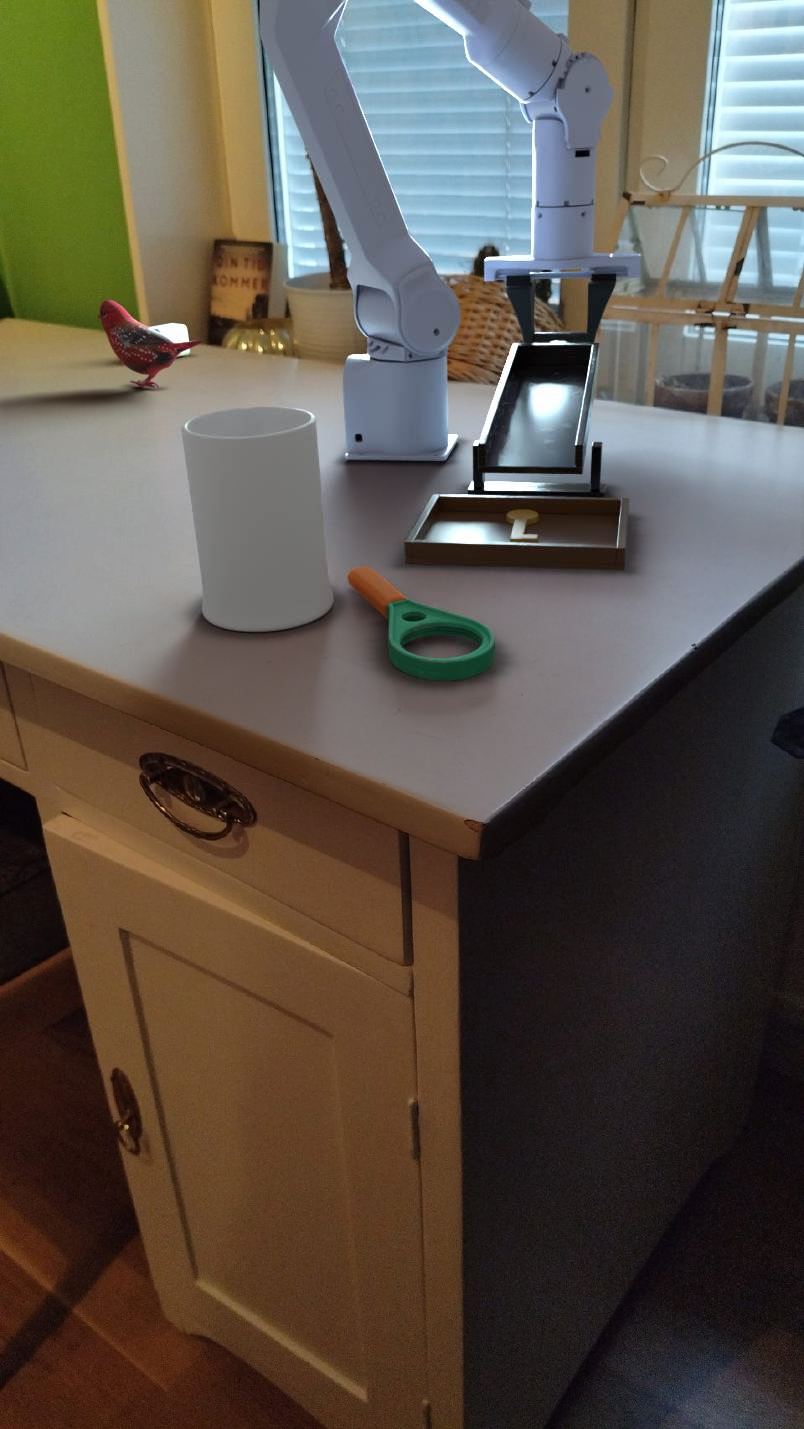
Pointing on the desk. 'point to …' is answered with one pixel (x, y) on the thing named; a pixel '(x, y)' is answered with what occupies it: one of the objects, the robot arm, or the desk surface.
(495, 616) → the desk surface
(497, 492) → the stand
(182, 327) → the usb wall charger
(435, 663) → the magnifying glass
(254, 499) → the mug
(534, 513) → the key
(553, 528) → the tray
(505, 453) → the dark sloped chute
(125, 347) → the decorative bird figurine
